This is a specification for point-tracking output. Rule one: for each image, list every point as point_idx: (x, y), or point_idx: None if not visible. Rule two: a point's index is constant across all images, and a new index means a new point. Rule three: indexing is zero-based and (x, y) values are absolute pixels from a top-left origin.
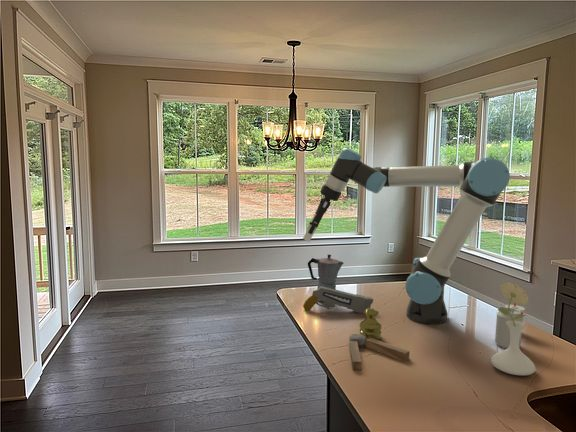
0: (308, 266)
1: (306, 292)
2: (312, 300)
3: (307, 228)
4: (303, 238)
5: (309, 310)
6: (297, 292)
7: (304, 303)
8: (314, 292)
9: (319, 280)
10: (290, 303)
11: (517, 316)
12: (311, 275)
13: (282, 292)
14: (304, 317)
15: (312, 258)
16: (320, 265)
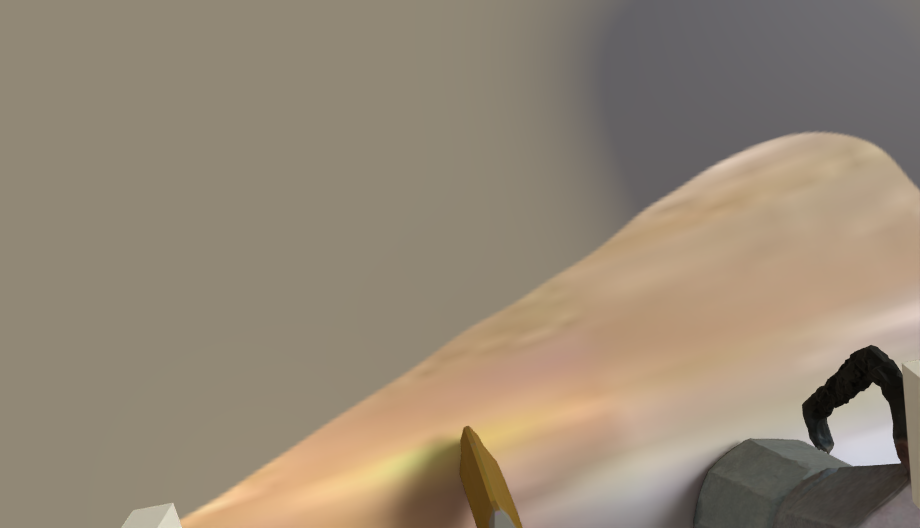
0: (849, 360)
1: (873, 321)
2: (480, 504)
3: (903, 373)
4: (132, 526)
5: (462, 479)
6: (840, 254)
7: (467, 437)
8: (492, 525)
9: (803, 484)
10: (573, 290)
11: None
12: (816, 398)
13: (788, 148)
14: (330, 482)
15: None
16: (841, 520)
